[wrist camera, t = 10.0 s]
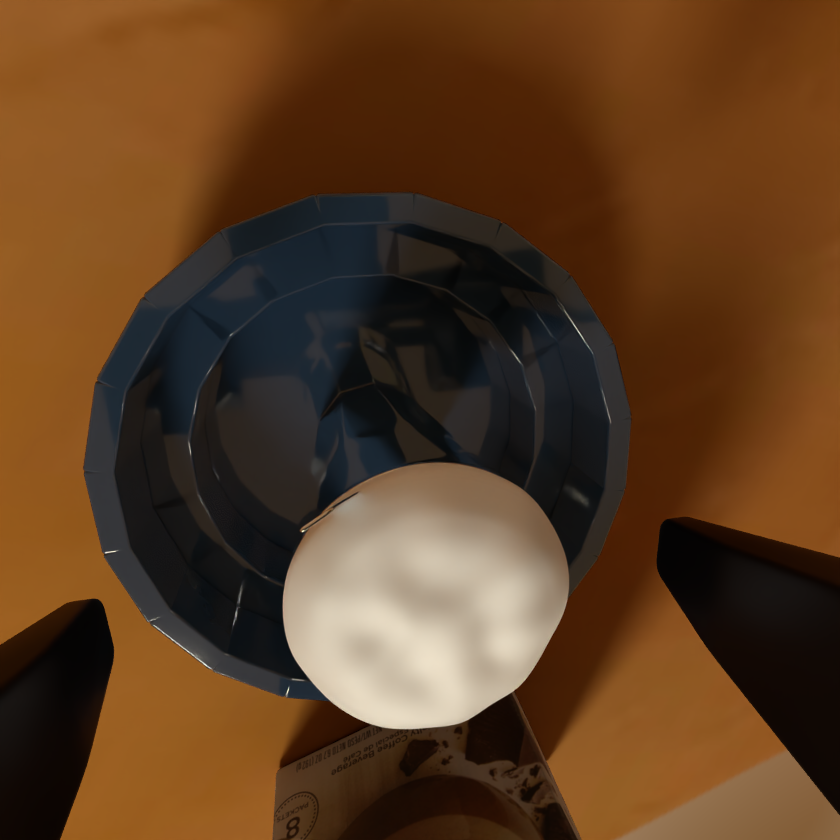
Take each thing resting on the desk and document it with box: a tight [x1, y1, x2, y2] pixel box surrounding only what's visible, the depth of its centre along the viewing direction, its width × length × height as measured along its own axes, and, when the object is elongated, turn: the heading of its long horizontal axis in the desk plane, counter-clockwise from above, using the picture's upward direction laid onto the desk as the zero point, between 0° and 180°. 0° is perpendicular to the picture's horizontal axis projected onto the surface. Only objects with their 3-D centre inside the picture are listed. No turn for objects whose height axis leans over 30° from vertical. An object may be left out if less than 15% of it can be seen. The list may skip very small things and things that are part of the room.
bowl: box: [83, 192, 632, 701], centre depth 15 cm, size 12×12×4 cm
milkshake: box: [283, 385, 569, 729], centre depth 12 cm, size 4×5×10 cm
